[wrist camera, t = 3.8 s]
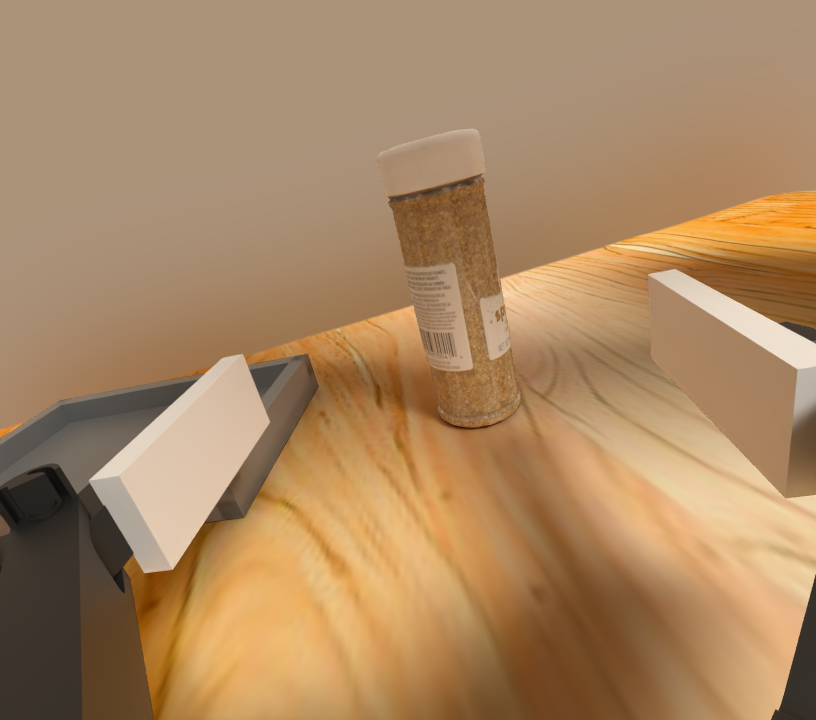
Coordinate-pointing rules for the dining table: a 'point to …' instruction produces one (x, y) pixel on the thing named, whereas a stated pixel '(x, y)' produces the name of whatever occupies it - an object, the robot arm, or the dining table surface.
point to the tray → (135, 410)
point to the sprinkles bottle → (453, 273)
